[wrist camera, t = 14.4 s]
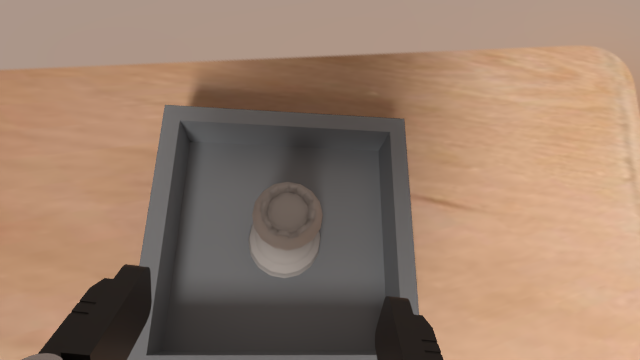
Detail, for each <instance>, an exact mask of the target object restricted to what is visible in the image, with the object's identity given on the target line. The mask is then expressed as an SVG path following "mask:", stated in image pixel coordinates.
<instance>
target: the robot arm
mask: <svg viewBox="0 0 640 360" xmlns="http://www.w3.org/2000/svg"><path fill="white" fill-rule="evenodd" d="M151 304H152V298H151V272H150V268H149V267H144V266H135V265H127V264H126V265H124V266H123V267H122V268H121V269H120V271H119V272H118V274H117V275H116V276H115V278H114V279H107V278H104V279H103V280H101V281H100V282H98V283H97V284H95V285H94V286H92V287H91V288H89V290H88V291H87V292H86V293H85V295H84V296H83V297H82V298H81V300H80V302H79V303H78V304H77V305H76V306H75V307H74V309H73V310H72V312H71V314H69V315H68V316H67V318H66V319H65V320H64V321H63V323H62V324H61V325H60V327H59V328H58V329H57V330H56V332H55V333H54V334H53V335H52V337H51V338H50V339H49V341H48V342H47V343H46V344H45V346H44V347H43V348H42V349H41V351H40V352H39V353H38V354H36V355H32V356H29V357H27V358H24V359H22V360H127V359H128V357H129V355H130V353H131V351H132V349H133V347H134V345H135V343H136V341H137V340H138V338H139V336H140V334H141V332H142V330H143V328H144V326H145V324H146V322H147V320H148V318H149V315H150V311H151ZM375 349H376V355H377V360H443V357H442V355H441V351H440V348H439V346H438V344H437V340H436V337H435V334H434V331H433V328H432V327H431V326H430V324H429V323H428V322H427V321H426V319H425V318H424V317H423V316H422V315H414V314H413V311H412V307H411V304H410V301H409V299H408V298H400V297H392V296H386V297H385V299H384V303H383V306H382V310H381V313H380V317H379V320H378V324H377V327H376V332H375Z"/></svg>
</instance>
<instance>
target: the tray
mask: <svg viewBox="0 0 640 360" xmlns="http://www.w3.org/2000/svg"><path fill="white" fill-rule="evenodd" d="M284 182H291V183H297V184H301V185H303V186H304V187H306V188H307V189H309V190H311V191H312V192H313V194H314V195H315V196H316V198H317V199H318V200H319V202H320V206H321V210H322V214H323V216H322V222H321V228H320V230H319V233H320V237H321V240H320V246H319V252H318V256H317V257H316V259H315V261H314V262H313V264H312V265H311V267H310V268H308V269H307V270H305V271H304V272H303V273H301V274H300V275H297V276H293V277H288V278H280V277H275V276H270V275H269V274H267V273H266V272H264V271H263V270H261V269H260V268H258V266H257V265H256V263H255V262H254V260H253V259H252V257H251V255H250V249H249V243H248V241H249V235H250V231H251V226H252V224H253V217H252V213H253V209H254V205H255V202H256V200H257V199H258V197H259V196H260V195H261V193H262V192H263V191H264V190H266V189H267V188H269V187H271V186H272V185H274V184H278V183H284ZM139 266H144V267H149V268H150V272H151V298H152V304H151V311H150V315H149V318H148V320H147V322H146V324H145V326H144V328H143V330H142V332H141V334H140V336H139V338H138V340H137V341H136V343H135V345H134V347H133V349H132V351H131V353H130V355H129V357H128V359H127V360H377V355H376V349H375V332H376V327H377V324H378V320H379V317H380V313H381V310H382V306H383V303H384V299H385V297H386V296H392V297H400V298H408V299H409V301H410V304H411V307H412V311H413V314H414V315H419V308H418V295H417V282H416V268H415V255H414V242H413V229H412V215H411V202H410V189H409V175H408V162H407V149H406V135H405V122H404V119H398V118H381V117H364V116H347V115H330V114H312V113H295V112H278V111H261V110H244V109H226V108H209V107H192V106H175V105H165V108H164V114H163V121H162V127H161V133H160V139H159V146H158V152H157V158H156V165H155V171H154V177H153V183H152V190H151V196H150V202H149V208H148V215H147V221H146V227H145V234H144V240H143V246H142V252H141V259H140V265H139Z"/></svg>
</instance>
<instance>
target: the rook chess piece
mask: <svg viewBox="0 0 640 360" xmlns="http://www.w3.org/2000/svg"><path fill="white" fill-rule="evenodd" d="M322 216H323V214H322V210H321V206H320V202H319V200H318V199H317V198H316V196H315V195H314V194H313V192H312V191H311V190H309V189H307V188H306V187H304V186H303V185H301V184H297V183H291V182H284V183H278V184H274V185H272V186H271V187H269V188H267V189H266V190H264V191H263V192H262V193H261V195H260V196H259V197H258V199H257V200H256V202H255V205H254V209H253V213H252V217H253V224H252V226H251V231H250V235H249V241H248V243H249V249H250V255H251V257H252V259H253V260H254V262H255V263H256V265H257V266H258V268H260V269H261V270H263V271H264V272H266V273H267V274H269V275H270V276H275V277H280V278H288V277H293V276H297V275H300V274H301V273H303V272H304V271H305V270H307V269H308V268H310V267H311V265H312V264H313V262H314V261H315V259H316V257H317V256H318V252H319V246H320V240H321V237H320V233H319V230H320V228H321V222H322Z"/></svg>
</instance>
